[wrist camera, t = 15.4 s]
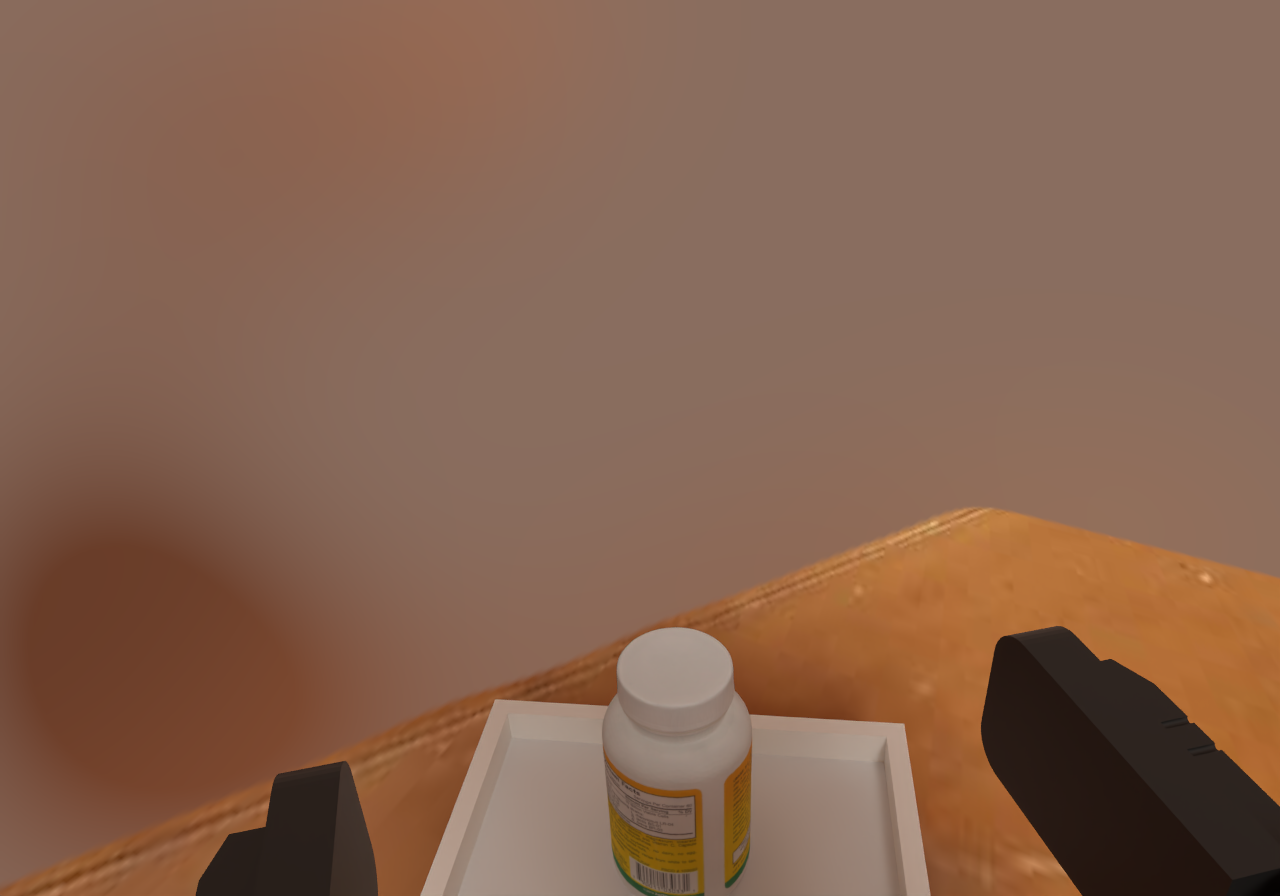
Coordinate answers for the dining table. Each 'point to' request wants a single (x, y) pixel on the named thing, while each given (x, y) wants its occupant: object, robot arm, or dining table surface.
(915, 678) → the dining table surface
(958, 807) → the dining table surface
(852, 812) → the white footed tray
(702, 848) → the supplement bottle
